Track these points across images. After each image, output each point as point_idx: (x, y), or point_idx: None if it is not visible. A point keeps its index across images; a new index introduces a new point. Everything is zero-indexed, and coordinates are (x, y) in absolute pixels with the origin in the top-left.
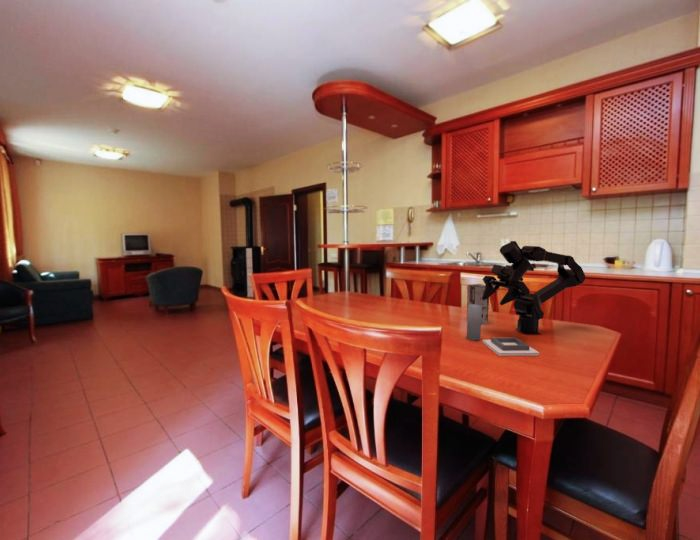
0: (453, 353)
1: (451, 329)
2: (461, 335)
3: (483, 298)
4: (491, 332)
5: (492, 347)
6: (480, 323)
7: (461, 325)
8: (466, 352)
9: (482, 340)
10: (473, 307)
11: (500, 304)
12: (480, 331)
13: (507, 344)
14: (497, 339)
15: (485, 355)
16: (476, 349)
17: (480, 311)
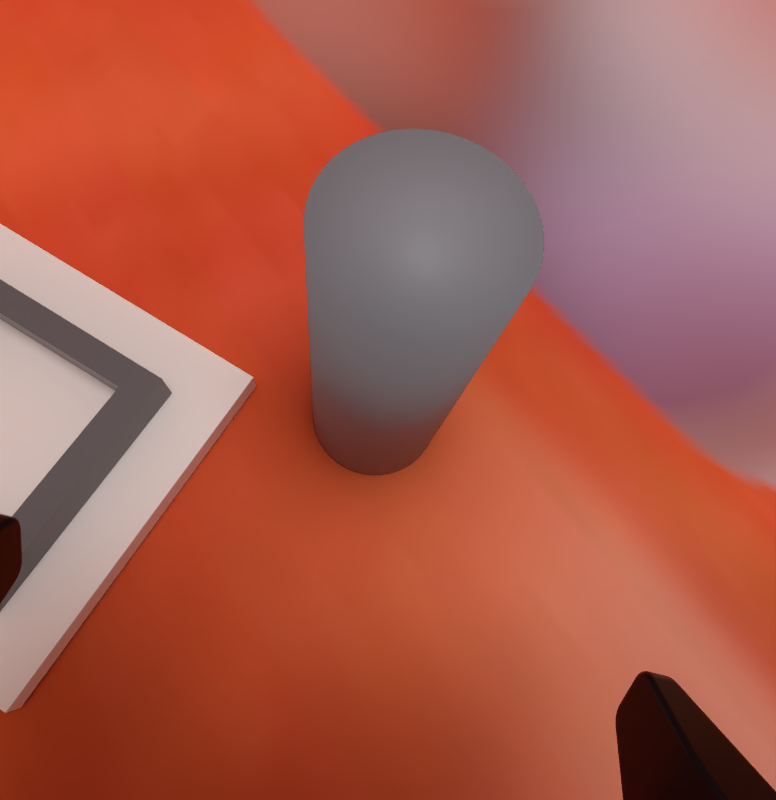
0: (238, 45)
1: (677, 472)
2: (492, 398)
3: (639, 696)
4: (408, 777)
5: (77, 272)
6: (312, 368)
7: (760, 697)
8: (194, 115)
9: (253, 380)
10: (371, 141)
11: (11, 537)
12: (317, 414)
13: (19, 451)
14: (105, 409)
15: (68, 162)
16: (184, 212)
17: (306, 273)
